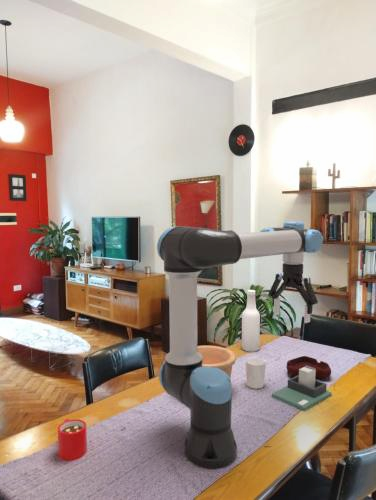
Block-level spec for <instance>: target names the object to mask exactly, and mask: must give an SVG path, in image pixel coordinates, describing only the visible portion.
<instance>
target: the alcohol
mask: <svg viewBox="0 0 376 500" xmlns="http://www.w3.org/2000/svg"><path fill="white" fill-rule="evenodd" d="M256 294H257V293H256V290H254V289H248V290H247V295H246V296H247V298H246V306H245V309H244V310H243V312H242V314H241V349H242V350H243V351H244V352H247V353H248V352H249V353H256V352H258V351H259V350H260V338H261V337H260V336H261V335H260V331H261V329H260V328H261V327H260V326H261V318H260V317H261V314H260V311H259V310H258V309H257V303H256Z"/></svg>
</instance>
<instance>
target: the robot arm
mask: <svg viewBox="0 0 376 500" xmlns="http://www.w3.org/2000/svg"><path fill="white" fill-rule="evenodd" d="M322 246H323V234H322V233H321V231H320V230H317V229H312V228H308V229H306V228H305V223H304V222H303V221H285V222H284V223H283V225H282V227H266V228H262V229H261V230H260V231H256V232H255V231H254V232H243V233H242V232H240V233H237V232H236V231H235V230H222V229H221V230H220V229H213V228H206V227H201V226H200V227H196V226H186V225H177V226H176V225H175V226H171V227H168V228H166V229H165V230H164V231H163V232H162V233H161V234H160V235H159V237H158V240H157V244H156V251H157V254H158V256H159V257H160V259H161V260H162V261H163V271H164V273H165V274H166V275H167V276H168V282H169V283H168V284H169V285H168V288H169V289H168V292H169V294H168V295H169V296H168V297H169V300H168V301H169V302H168V303H169V307H168V308H169V352H168V353H167V354H166V355H165V357H164V361H163V362H162V365H161V366H160V368H159V370H158V371H159V373H158V378H159V379H158V380H159V383H160V386H161V387H162V388H163V390H164V392H166V393H167V395H169V396H171V397H172V398H175V399H176V400H177V401H178V402H180V403H181V404H182V405H184V406H185V407H187V408H188V409H189V411H190V414H189V415H190V419H189V421H190V425H189V426H190V427H189V429H188V431H187V435H186V438H185V441H184V446H183V449H184V453H183V454H184V456H185V457H186V459H187V460H188V461H189V462H190V463H191V464H193V465H195V466H197V467H201V468H203V469H204V468H205V469H219V468H224V467H227V466H229V465H230V464H232V463H233V462H234V461H235V460H236V458H237V456H238V455H237V453H238V445H237V441H236V440H235V435H234V432H233V429H232V403H233V401H232V399H233V396H232V395H233V388H232V380H231V378H230V377H229V376H228V375H227V374H226V373H225V372H224V371H222V370H221V369H218V368H212V367H209V366H204V367H202V355H201V354H200V353H199V352H198V351H197V346H198V276H199V275H200V274H201V273H202V271H203V269H207V268H213V267H214V268H215V267H219V266H226V265H227V266H228V265H233V264H234V265H235V264H236V263H238V262H239V261H240V260H246V259H255V258H262V257H263V258H264V257H270V256H278V255H282V262H283V263H282V269H281V271H282V272H281V273H276V274H275V279H274V281H273V284H272V285H271V287H270V290H269V292H268V296H269V297H271V298H272V306H273V316H279V315H280V312H281V298H280V295H281V294H283V292H284V291H285V290H286V289H287V288H291V289H296V290H297V291H298V293H299V294H300V296H301V297H302V300H303V301H304V302H305V305H304V317H303V318H304V319H303V321H304V322H303V323H304V324H308V323H310V322H311V315H312V314H313V307H314V305H317V304H318V303H319V301H318V299H317V296H316V293H315V291H314V288H313V286H312V282H311V277H303V273H304V264H303V263H304V254H305V253H307V254H309V253H311V254H312V253H318V252H319V251H320V250H321V248H322ZM281 281H282V283H281Z"/></svg>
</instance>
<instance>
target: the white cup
mask: <svg viewBox="0 0 376 500" xmlns="http://www.w3.org/2000/svg"><path fill="white" fill-rule="evenodd" d="M266 362H267V360H266V359H264V358H262V357H256V356H255V357H253V356H252V357H248V358H246V359H245V376H246V386H247V387H248V388H250V389H251V388H252V389H255V390H256V389H258V388H259V389H262V388H263V387H264V386H265V377H266Z"/></svg>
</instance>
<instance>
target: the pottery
mask: <svg viewBox="0 0 376 500" xmlns="http://www.w3.org/2000/svg"><path fill="white" fill-rule="evenodd" d="M197 351H198V352H199V353H200V354H201V355H202V367H204V366H209V367H212V368H218V369H221V370H222V371H224V372H225V373H226V374H227V375H228V376H229V377H230V379H231V377H232V371H233V366H234V365H235V363H236V361H237V355H236V354H235V352H234V351H232V350H230V349H228V348H226V347H223V346H218V345H217V346H216V345H197Z"/></svg>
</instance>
